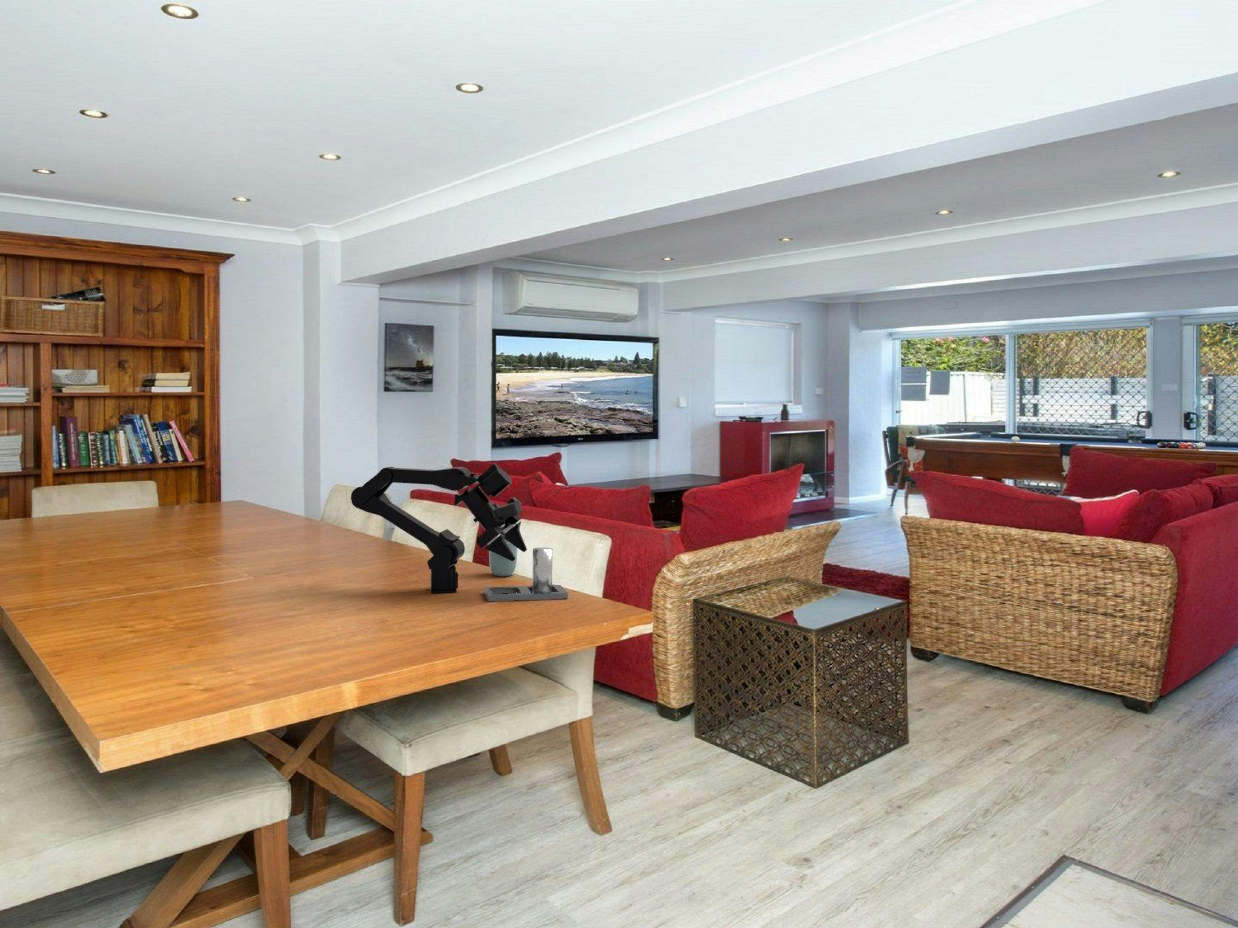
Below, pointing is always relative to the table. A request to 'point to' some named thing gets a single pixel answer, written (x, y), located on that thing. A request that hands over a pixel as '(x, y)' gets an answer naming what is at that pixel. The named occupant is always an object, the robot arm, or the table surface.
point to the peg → (542, 570)
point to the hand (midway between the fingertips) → (519, 555)
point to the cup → (503, 562)
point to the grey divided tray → (523, 593)
